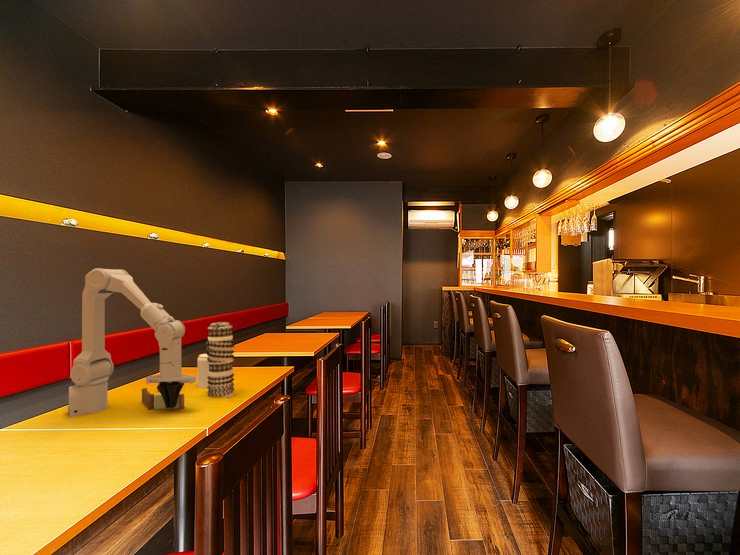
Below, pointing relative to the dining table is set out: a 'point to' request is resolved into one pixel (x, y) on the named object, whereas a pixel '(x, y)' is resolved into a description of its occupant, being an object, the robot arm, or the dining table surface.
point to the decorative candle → (220, 360)
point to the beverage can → (202, 371)
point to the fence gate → (161, 405)
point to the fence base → (147, 399)
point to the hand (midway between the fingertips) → (171, 407)
